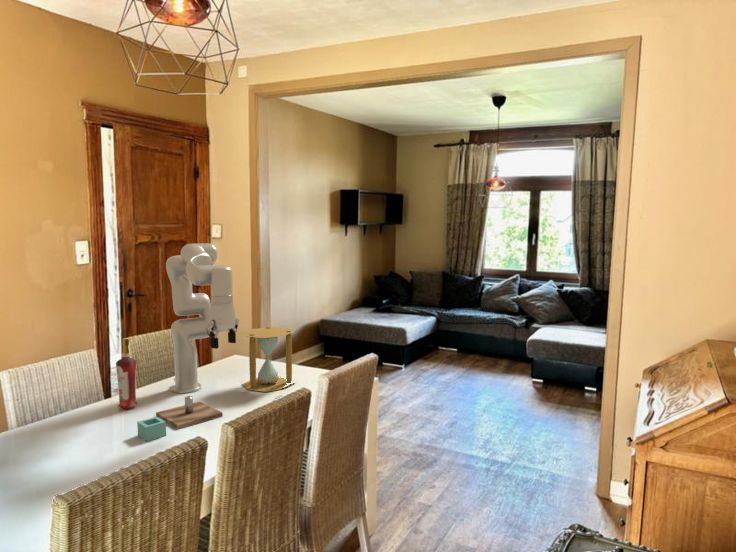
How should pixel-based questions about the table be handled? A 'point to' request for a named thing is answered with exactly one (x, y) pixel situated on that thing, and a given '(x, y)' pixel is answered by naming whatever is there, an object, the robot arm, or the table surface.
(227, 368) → the table surface
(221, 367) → the table surface
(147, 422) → the teal collar
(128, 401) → the liquor
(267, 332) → the hourglass
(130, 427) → the table surface
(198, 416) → the walnut board
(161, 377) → the table surface
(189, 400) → the steel post
